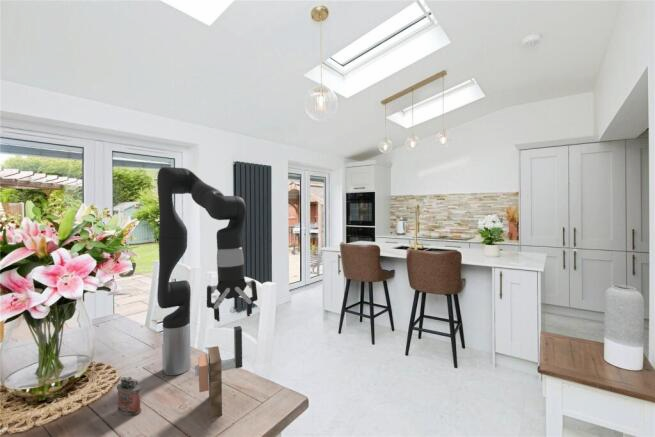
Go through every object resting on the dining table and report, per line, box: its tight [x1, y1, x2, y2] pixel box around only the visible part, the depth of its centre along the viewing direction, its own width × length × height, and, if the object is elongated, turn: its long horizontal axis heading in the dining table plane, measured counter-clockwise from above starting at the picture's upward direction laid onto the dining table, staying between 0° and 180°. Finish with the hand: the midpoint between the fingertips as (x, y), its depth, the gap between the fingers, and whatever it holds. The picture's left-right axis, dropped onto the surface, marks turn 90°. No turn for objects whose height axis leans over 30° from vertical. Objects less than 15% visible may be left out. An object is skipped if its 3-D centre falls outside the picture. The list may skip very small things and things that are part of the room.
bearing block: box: [207, 346, 223, 419], centre depth 95 cm, size 3×11×16 cm, turn 24°
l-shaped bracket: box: [194, 325, 243, 377], centre depth 96 cm, size 14×3×12 cm, turn 114°
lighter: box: [116, 376, 142, 417], centre depth 93 cm, size 8×3×10 cm, turn 70°
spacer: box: [197, 353, 209, 393], centre depth 94 cm, size 2×8×8 cm, turn 24°
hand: (233, 318), depth 92 cm, fingers open, 8 cm apart
